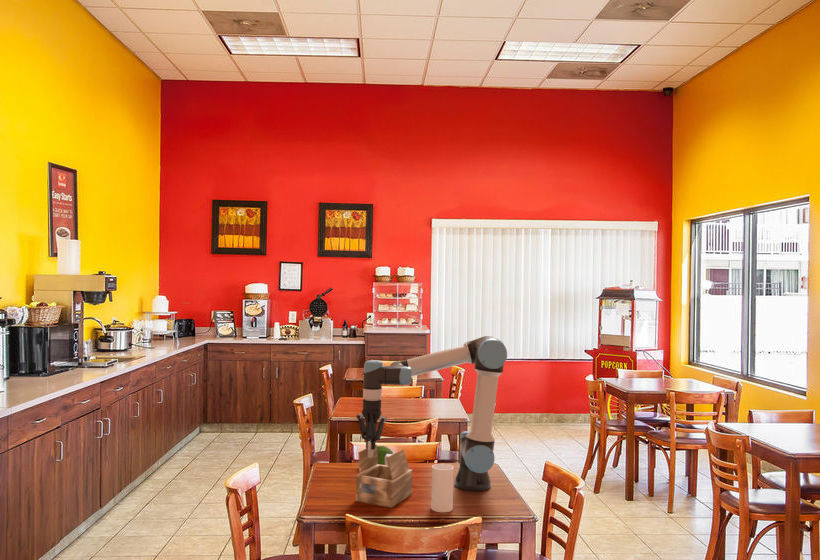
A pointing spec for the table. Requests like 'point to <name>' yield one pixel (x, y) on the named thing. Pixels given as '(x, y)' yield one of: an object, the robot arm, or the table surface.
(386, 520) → the table surface
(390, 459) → the flap
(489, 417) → the robot arm
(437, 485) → the cup
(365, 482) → the wooden box
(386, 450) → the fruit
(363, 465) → the flap
